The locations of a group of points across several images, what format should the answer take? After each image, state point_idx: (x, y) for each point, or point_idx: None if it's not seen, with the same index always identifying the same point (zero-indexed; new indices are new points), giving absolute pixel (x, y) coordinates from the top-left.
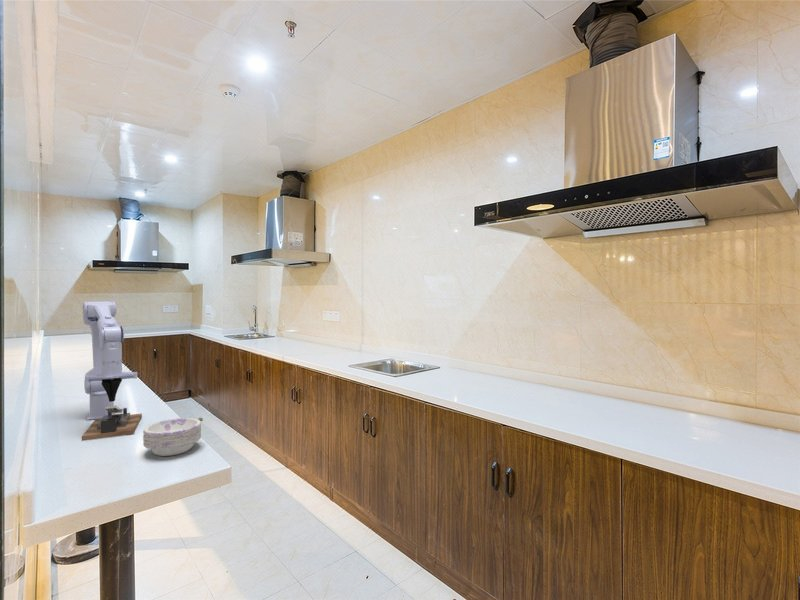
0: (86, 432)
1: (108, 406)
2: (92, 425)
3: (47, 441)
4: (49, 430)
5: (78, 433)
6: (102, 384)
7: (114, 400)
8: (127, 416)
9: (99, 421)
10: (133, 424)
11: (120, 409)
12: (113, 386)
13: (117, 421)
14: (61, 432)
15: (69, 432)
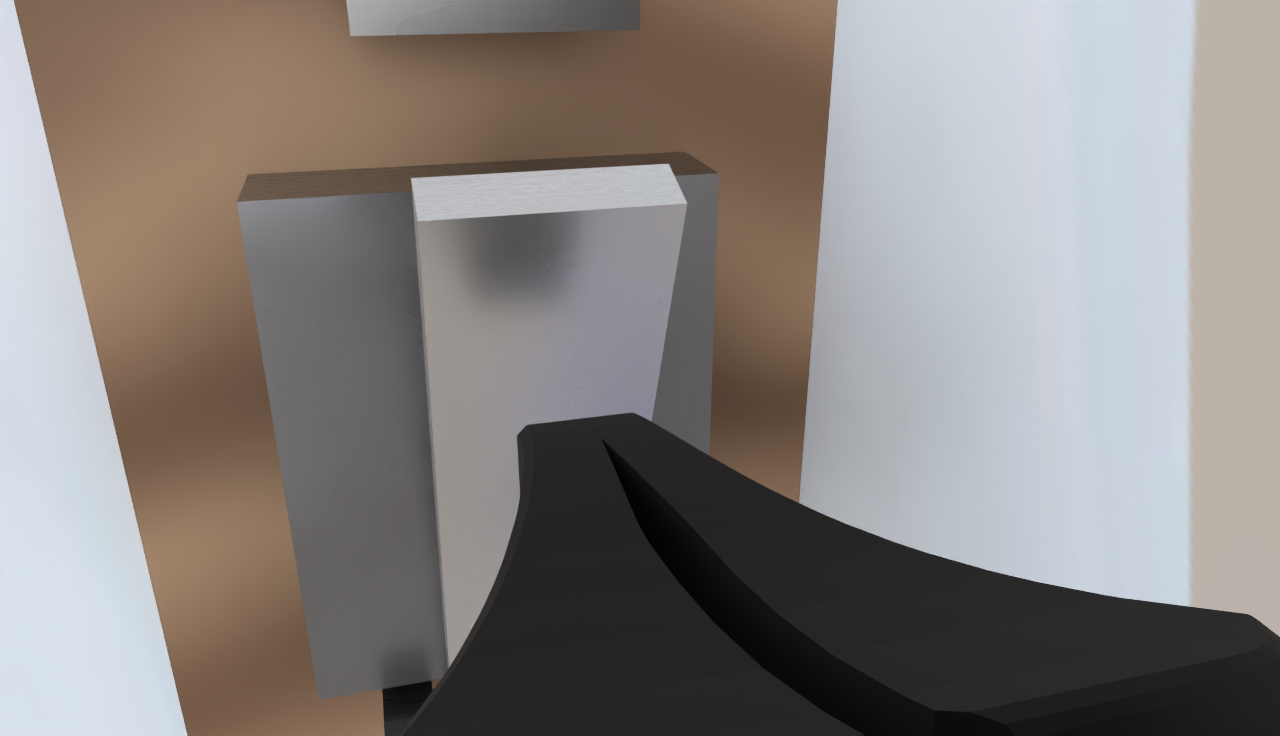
0: (808, 69)
1: (602, 208)
2: (781, 417)
3: (1178, 71)
4: (1166, 512)
5: (894, 288)
6: (1261, 632)
7: (520, 482)
8: (292, 491)
9: (703, 325)
10: (130, 261)
11: (446, 638)
12: (643, 665)
13: (388, 210)
14: (1064, 399)
15: (990, 370)
